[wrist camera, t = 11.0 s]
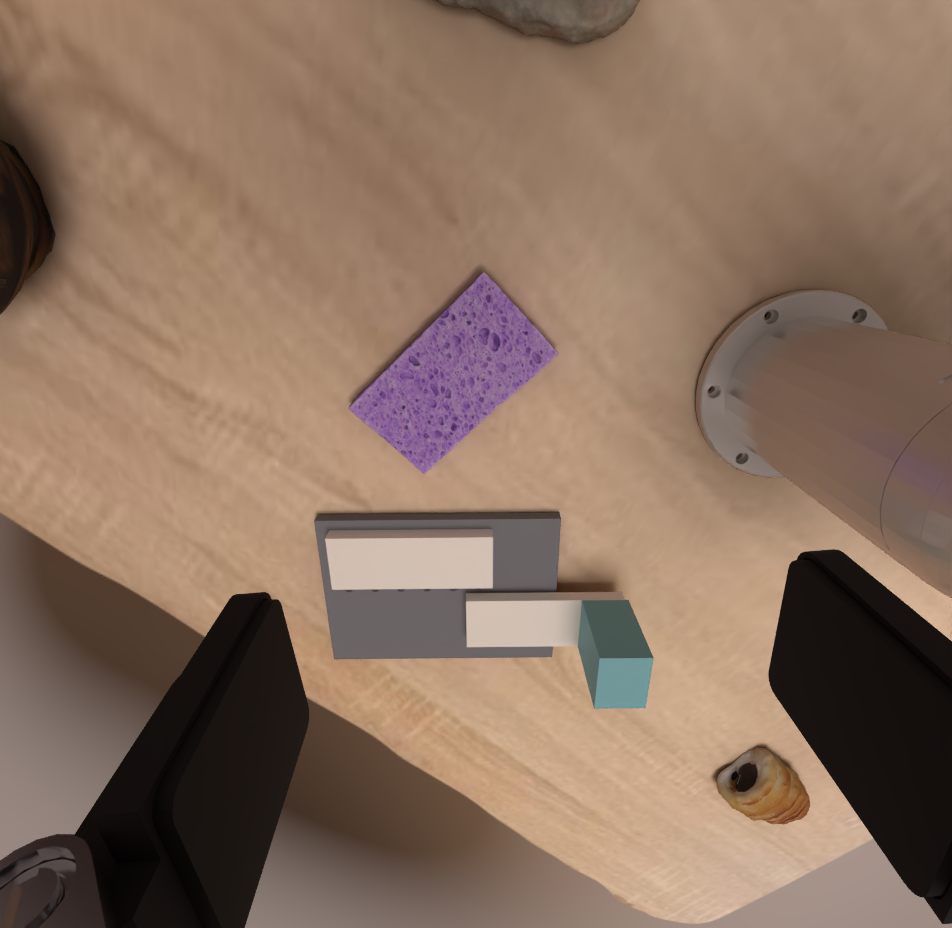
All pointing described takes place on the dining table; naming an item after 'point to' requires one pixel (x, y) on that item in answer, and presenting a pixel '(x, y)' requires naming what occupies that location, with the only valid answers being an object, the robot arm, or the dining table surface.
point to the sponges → (454, 374)
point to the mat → (439, 610)
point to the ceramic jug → (20, 224)
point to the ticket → (410, 559)
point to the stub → (571, 636)
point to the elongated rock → (557, 16)
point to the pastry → (763, 788)
